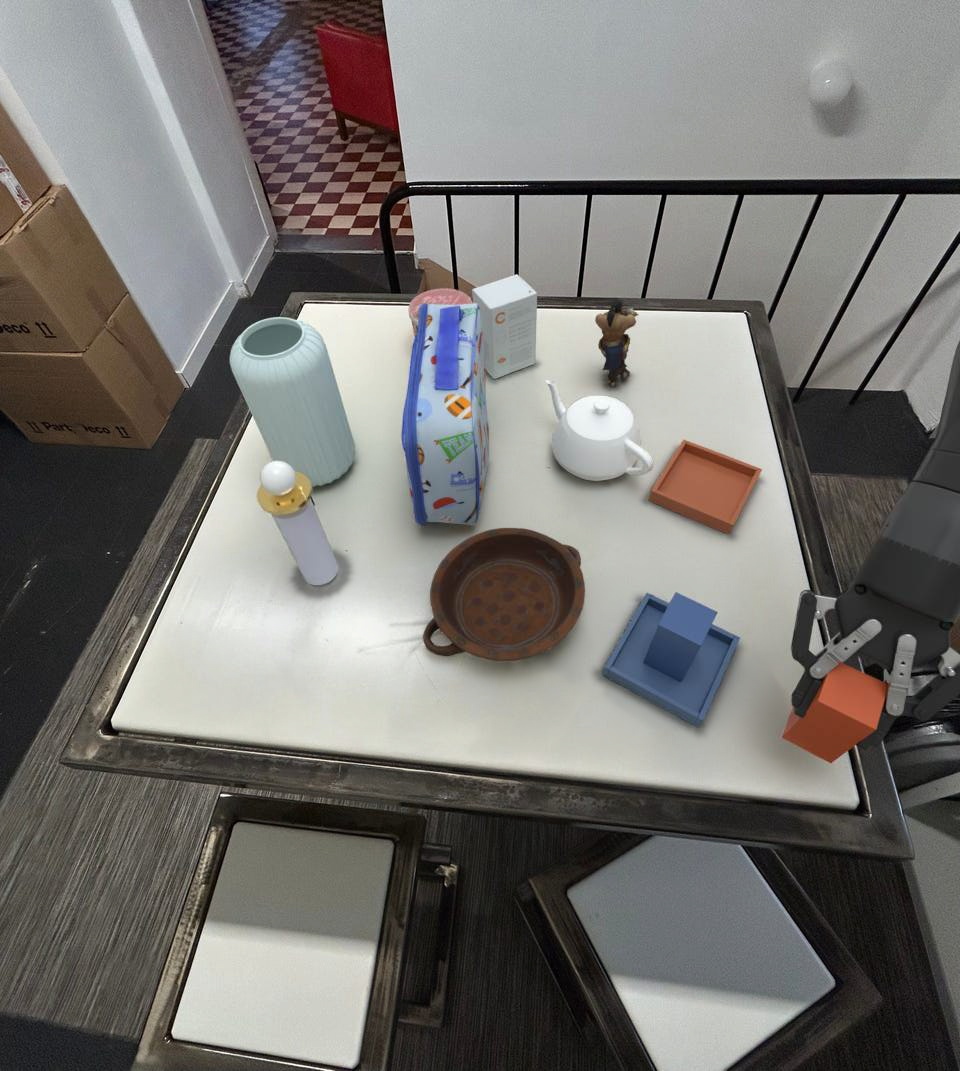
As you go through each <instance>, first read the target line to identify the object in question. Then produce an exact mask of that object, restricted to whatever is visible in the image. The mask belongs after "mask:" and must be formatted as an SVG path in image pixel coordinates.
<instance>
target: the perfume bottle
mask: <svg viewBox="0 0 960 1071" xmlns="http://www.w3.org/2000/svg"><path fill="white" fill-rule="evenodd" d="M259 482H260V485H259V487H258V490H257V492H256V499H257V502H258V504H259V506H260V508H261V509H262V510H263V511H264V512H265V513H268V514H270V515H271V517H272V519H273V520H274V522H275V524H276V526H277V529H278V531H279V532H280V534H281V536H282V538H283V540H284V542H285V544H286V545H287V548H288V550H289V552H290V554H291V556H292V558H293V560H294V562H295V564H296V566H297V568H298V569H299V572H300V574H301V576H302V577H303V579H304V581H305V582H306V583H308V584H310V585H312V586H323V585H326V584H327V583H329V582H331V581H333V579H334V578H335V577H336V576H337V575H338V571H339V563H338V560H337V558H336V556H335V553H334V551H333V548H332V546H331V544H330V540H329V539H328V536H327V535H326V534H327V533H326V532H325V529H324V527H323V524H322V522H321V519H320V517H319V515H318V512H317V510H316V507H315V506H316V503H315V502H314V499H313V487H312V485H311V483H310V480H309V479H308V477H306V476H305V475H304V474H302V473H300V472H296V471H294V469H293V468H292V467H291V466H290V465H289V464H287V463H286V462H283V461H273V460H272V461H270V462H268V463H266V464H265V465H264V466H263V467H262V468H261V471H260V473H259Z"/></svg>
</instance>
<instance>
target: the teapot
mask: <svg viewBox="0 0 960 1071" xmlns="http://www.w3.org/2000/svg"><path fill="white" fill-rule="evenodd" d="M545 383H546V385H547V386H548V388H549V390H550V391H549V392H550V394H551V399H552V405H553V408H554V413H555V415H556V417H557V419H558V422H557V424H556V426H555V427H554V430H553V433H552V436H551V449H552V453H553V455H554V457H555V460H556V461H557V463H558V464H559V466H561V467H562V468H563V469H564V470H565V471H567V472H568V473H569V474H571V475H573V476H575V477H577V478H579V479H583V480H585V481H592V482H593V481H594V482H600V481H607V480H612V479H613V480H614V479H615V478H618V477H621V476H622V475H624V474H628V475H630V476H644V475H646V474H648V473H650V472H651V471H652V470H653V468H654V463H655V462H654V460H653V458H652V456H651V455H650V454H649V453H648V452H647V451H646V450H645V449H644V448H642V438H641V432H640V428H639V425H638V422H637V419H636V416H635V415H634V413H633V412H632V410H631V409H630V408H629V406H628V405H627V404H626V403H624V402H623V401H622V400H620V399H618V398H616V397H612V396H609V395H608V396H607V395H602V394H600V395H599V394H595V395H593V394H592V395H588V396H583V397H580V398H579V399H577V400H575V401H574V402H573V403H571V405H569V406H567V408H566V407H565V405H564V404H563V402H562V399H561V395H560V392H559V390H558V387H557V385H556V382H555V381H554V380H552V379H547V380H545ZM637 461H640V462H641V464H642V467H641V466H640V467H634V465H635V464H636V463H637Z"/></svg>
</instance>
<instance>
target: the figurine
mask: <svg viewBox="0 0 960 1071" xmlns="http://www.w3.org/2000/svg"><path fill="white" fill-rule="evenodd" d="M610 305H611V306H610V309H609V310H608V311H606V312H603V313H598V314H597V315H596V316H595V320H594V321H595V324H596V326H598V328H599V329H600V330H601V334H602V337H601V338H600V339H599V341H598V344H597V346H598V349H599V350H600V352H601V354H602V356H603V357H604V358H605V362H604V364H603V368H602V371H608V374H607V380H608V386H609V387H611V388H615V387H617V385H618V384H617V380H618V377H620V379H626V378H629V377H630V371H629V370H628V369H627V368H628V366H627V364H626V360H627V357H628V352H629V346H630V344H631V337H630V334H628V333H626V331H627V330H629V329H630V328H633V327H635V325H636V323H637V320H636V317H638V316H639V313H638V312H637V311H635V309H634V308H633V307H632V308H629V307H627V308H624V307H623V306H624V301H623V299H617V298H616V299H613V301H612V303H611V304H610Z"/></svg>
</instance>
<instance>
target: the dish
mask: <svg viewBox="0 0 960 1071" xmlns="http://www.w3.org/2000/svg"><path fill="white" fill-rule="evenodd" d="M581 558H582V557H581V554H580V552H579V550H578V549H577V548H575V547H574V546H571V545H568V544H564V543H561V542H560V541H558V540H557V539H555V538H553V537H550V536H549V535H547V534H544V533H542V532H538V531H536V530H533V529H528V528H522V527H497V528H492V529H488V530H484V531H482V532H479V533H476V534H474V535H472V536H470V537H467V538H466V539H464V540H463V541H461V542H460V543H458V544H457V545H456V546H455V547H453V549H452V548H451V550H450V551H448V552H447V554H446V555H445V557H444V558H443V559H441V561H440V563H439V564H438V566H437V568H436V570H435V573H434V574H433V578H432V580H431V584H430V589H429V603H430V608H431V612H432V618H431V619H430V621H429V622H428V623H427V624H426V626H425V628H424V630H423V634H422V640H423V644H424V647H425V649H427V651H428V652H430V653H432V654H433V655H435V656H438V657H444V658H445V657H446V658H447V657H452V656H457V655H460V654H463V653H467V654H469V655H471V656H474V657H477V658H480V659H484V660H488V661H492V662H517V661H521V660H526V659H530V658H533V657H536V656H538V655H540V654H542V653H545V652H547V651H548V650H550V649H552V648H553V647H554V646H556V645H557V644H559V643H560V642H561V641H562V640H563V639H564V638H566V637H567V636H568V634H569V633H570V631H571V630H572V629H573V628H574V627H575V625H576V624H577V622H578V620H579V618H580V616H581V614H582V611H583V609H584V604H585V596H586V585H585V584H586V583H585V579H584V574H583V571H582V568H581V564H582V559H581ZM438 631H439V632H440V633H441V634H443V635H444V636H445V637H446V638H447V640H448V641H449V642H450V644H448V645H436V644H435V643H434V642H433V641H432V637H433V635H434V634H435V632H438Z"/></svg>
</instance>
